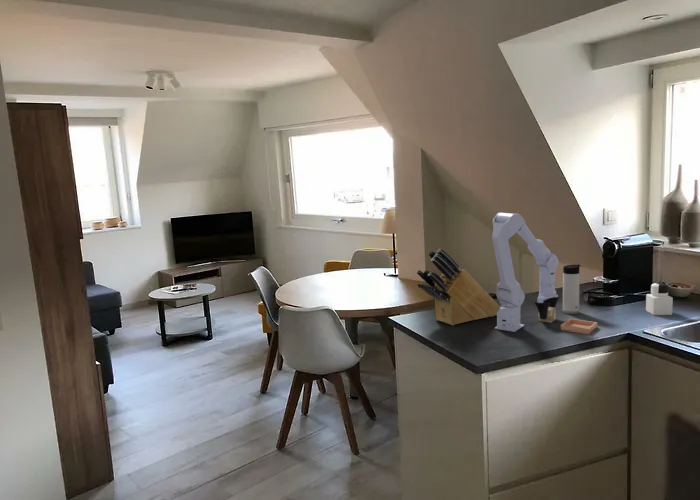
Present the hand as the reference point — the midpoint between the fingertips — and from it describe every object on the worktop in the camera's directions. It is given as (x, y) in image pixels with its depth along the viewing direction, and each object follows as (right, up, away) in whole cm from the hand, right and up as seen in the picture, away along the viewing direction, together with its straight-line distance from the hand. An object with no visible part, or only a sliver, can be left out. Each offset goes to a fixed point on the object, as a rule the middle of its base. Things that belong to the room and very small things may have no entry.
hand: (546, 316), depth 216 cm
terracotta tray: (+7, -3, -13) cm, 15 cm away
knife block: (-33, -2, +6) cm, 34 cm away
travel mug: (+14, 0, +10) cm, 17 cm away
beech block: (0, -2, 0) cm, 2 cm away
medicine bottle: (+46, +1, +3) cm, 46 cm away
